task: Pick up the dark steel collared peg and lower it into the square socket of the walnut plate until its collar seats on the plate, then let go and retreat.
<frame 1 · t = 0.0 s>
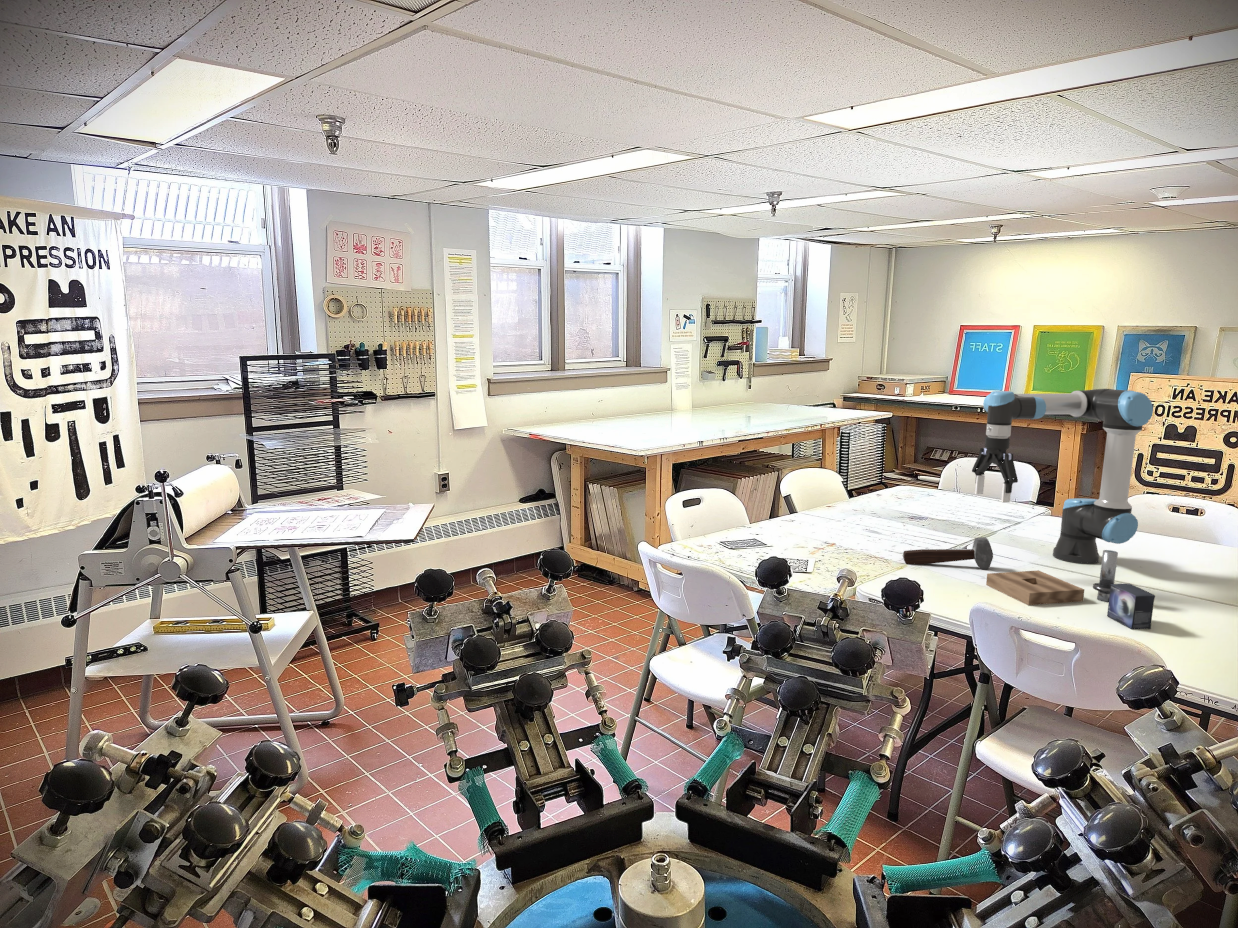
hand: (991, 497, 266), 28 cm above the table, fingers open, 13 cm apart
small box: (1127, 623, 228), on the table
socket plate: (1033, 592, 254), on the table
steel peg: (1104, 599, 248), on the table
hammer: (946, 566, 282), on the table
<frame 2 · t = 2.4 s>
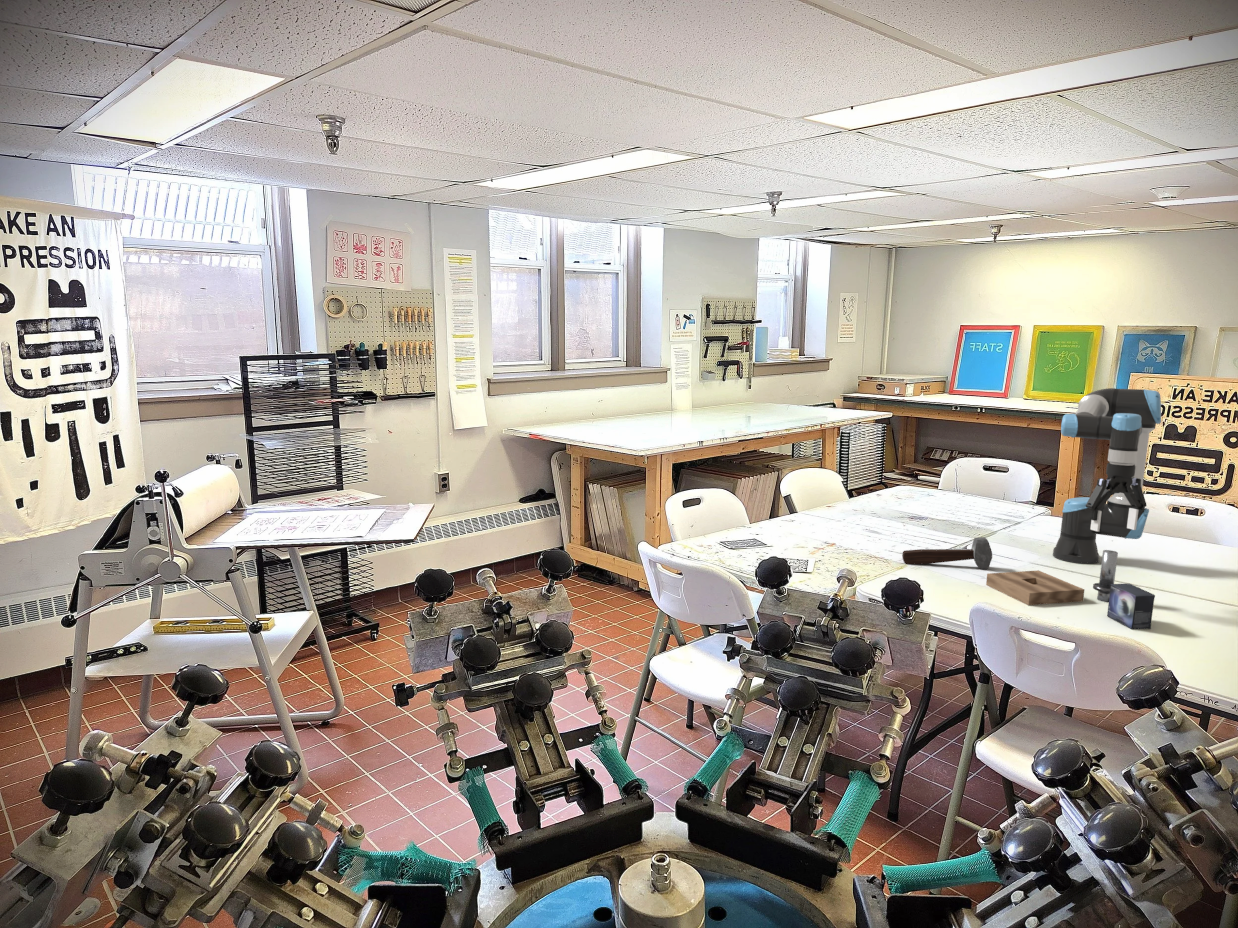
hand: (1113, 529, 243), 23 cm above the table, fingers open, 13 cm apart
nothing on the table moved.
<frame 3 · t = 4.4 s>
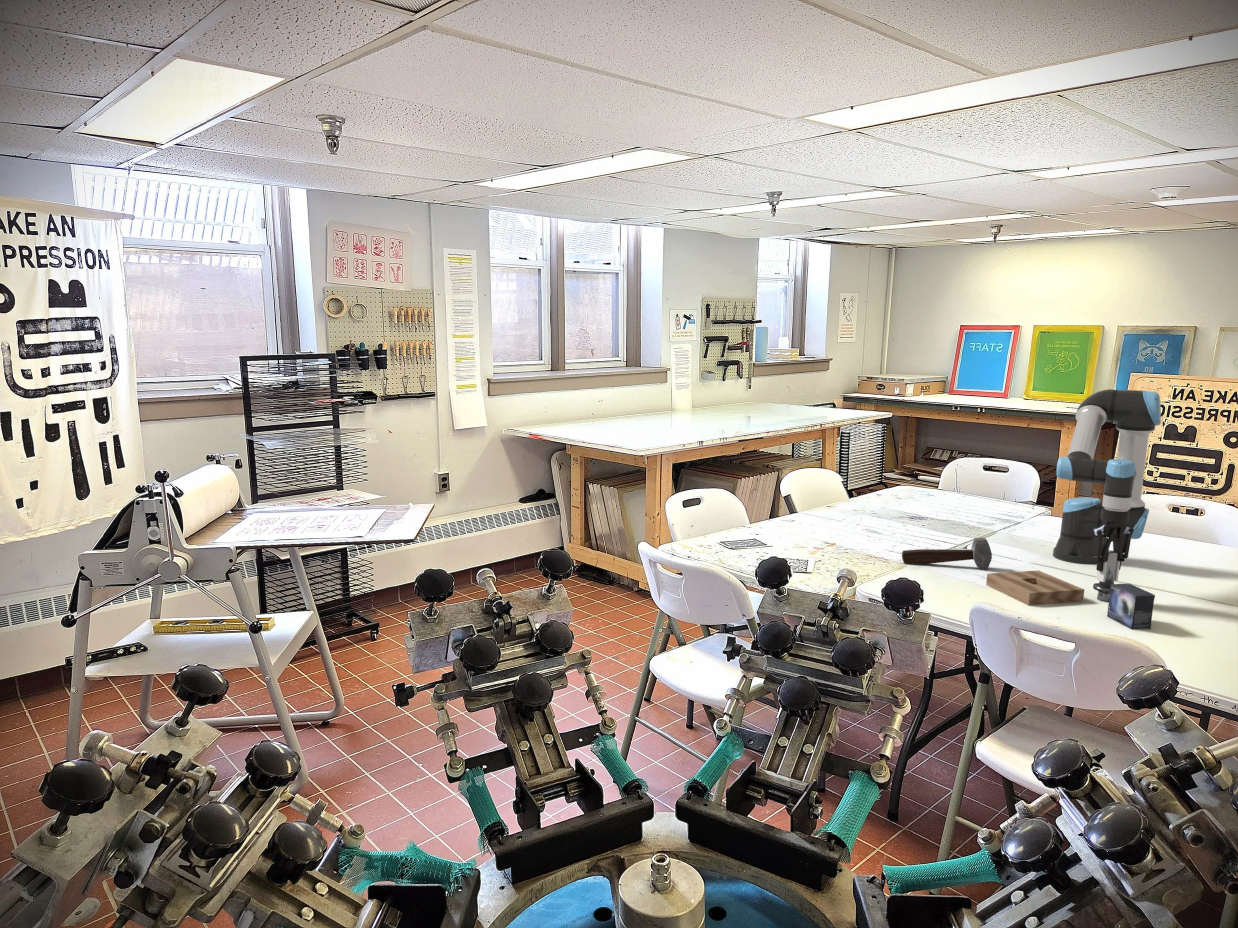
hand: (1106, 580, 246), 7 cm above the table, fingers closed on steel peg, 4 cm apart
steel peg: (1104, 599, 248), on the table, touching gripper
everything else where it was.
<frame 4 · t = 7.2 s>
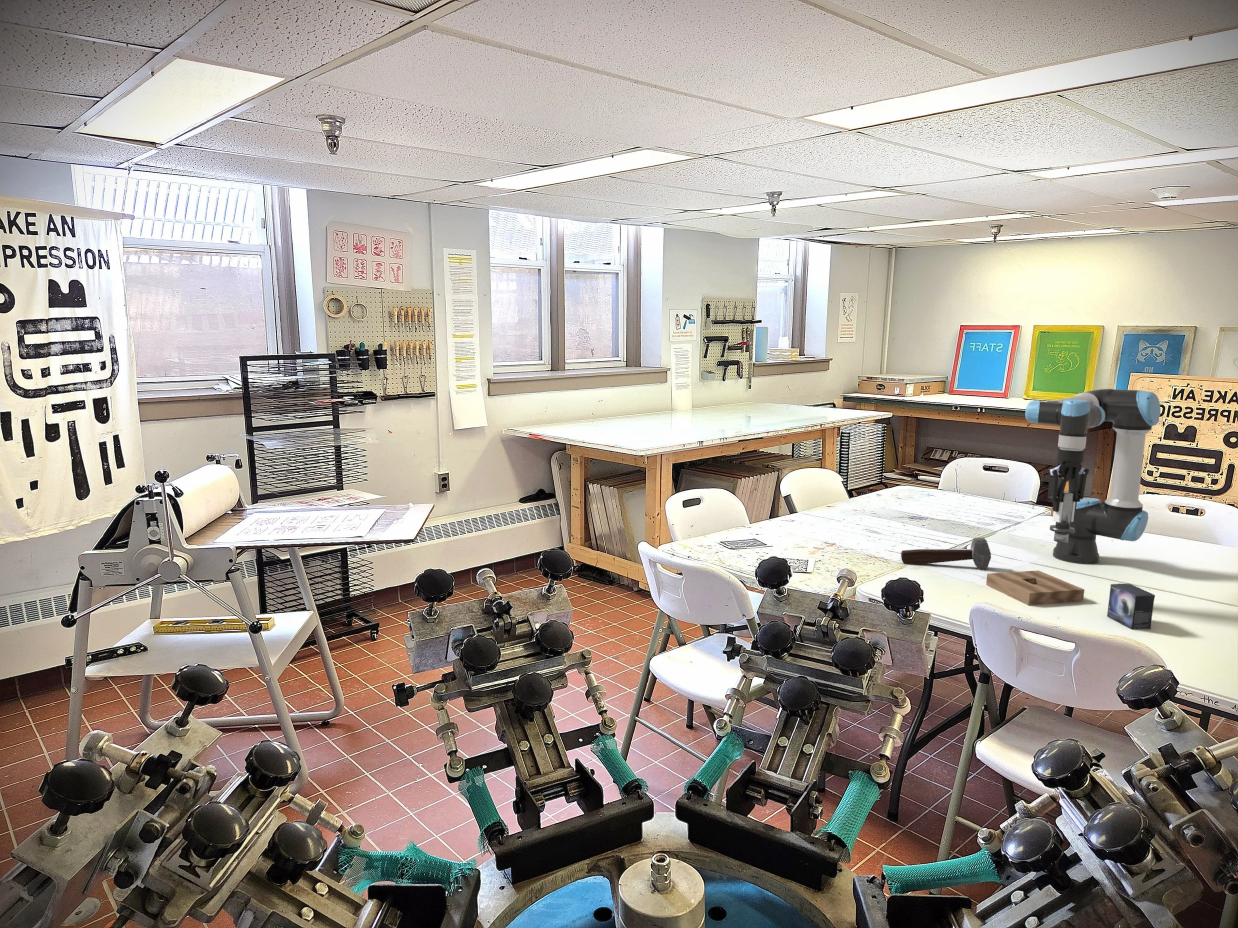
hand: (1062, 520, 247), 25 cm above the table, fingers closed on steel peg, 4 cm apart
steel peg: (1060, 541, 248), point 18 cm above the table, touching gripper
everything else where it was.
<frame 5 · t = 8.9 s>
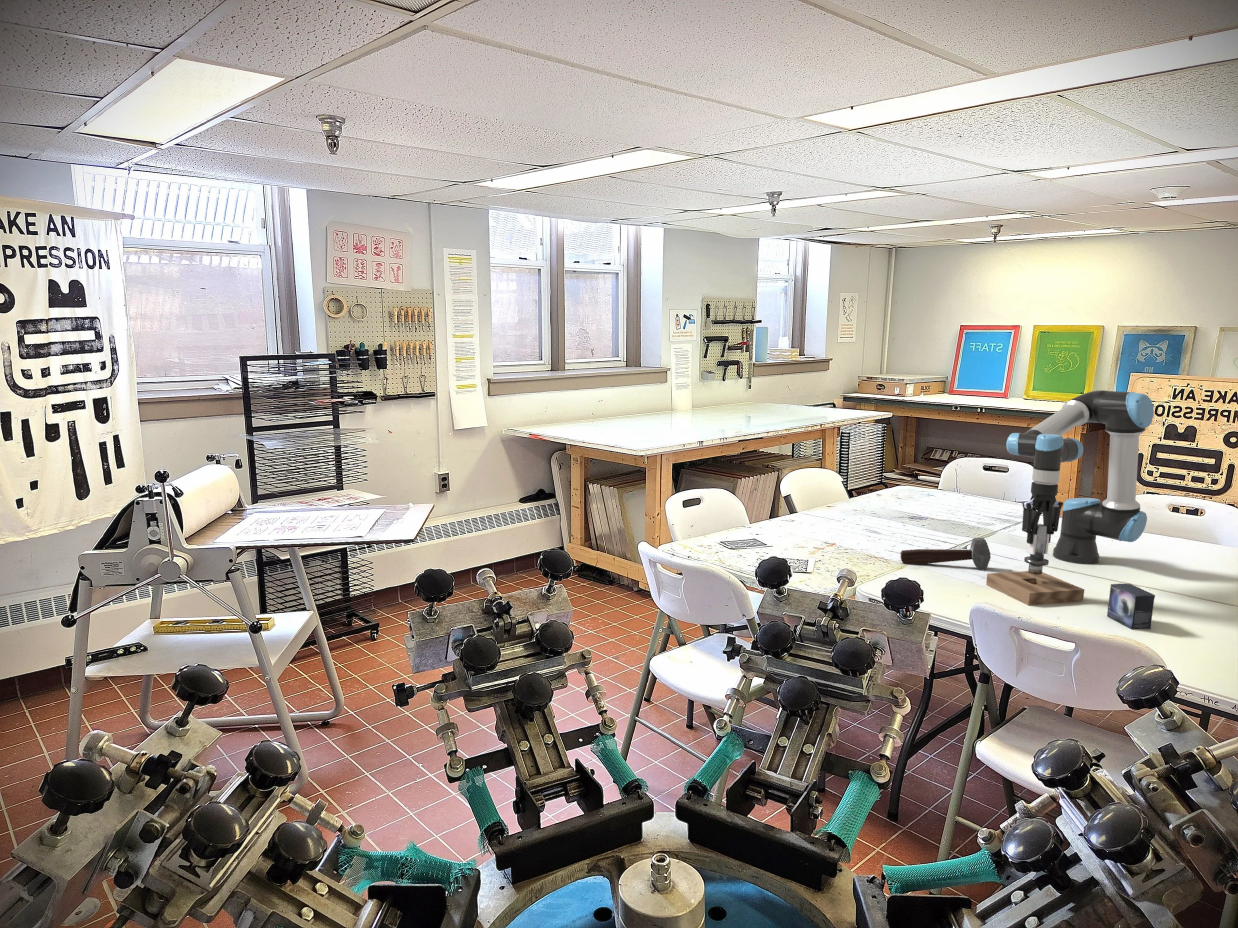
hand: (1037, 552, 251), 14 cm above the table, fingers closed on steel peg, 4 cm apart
steel peg: (1035, 572, 252), point 7 cm above the table, touching gripper
when the fingers open (9 cm above the table, at t = 10.1 s): steel peg drops 2 cm, resting on socket plate.
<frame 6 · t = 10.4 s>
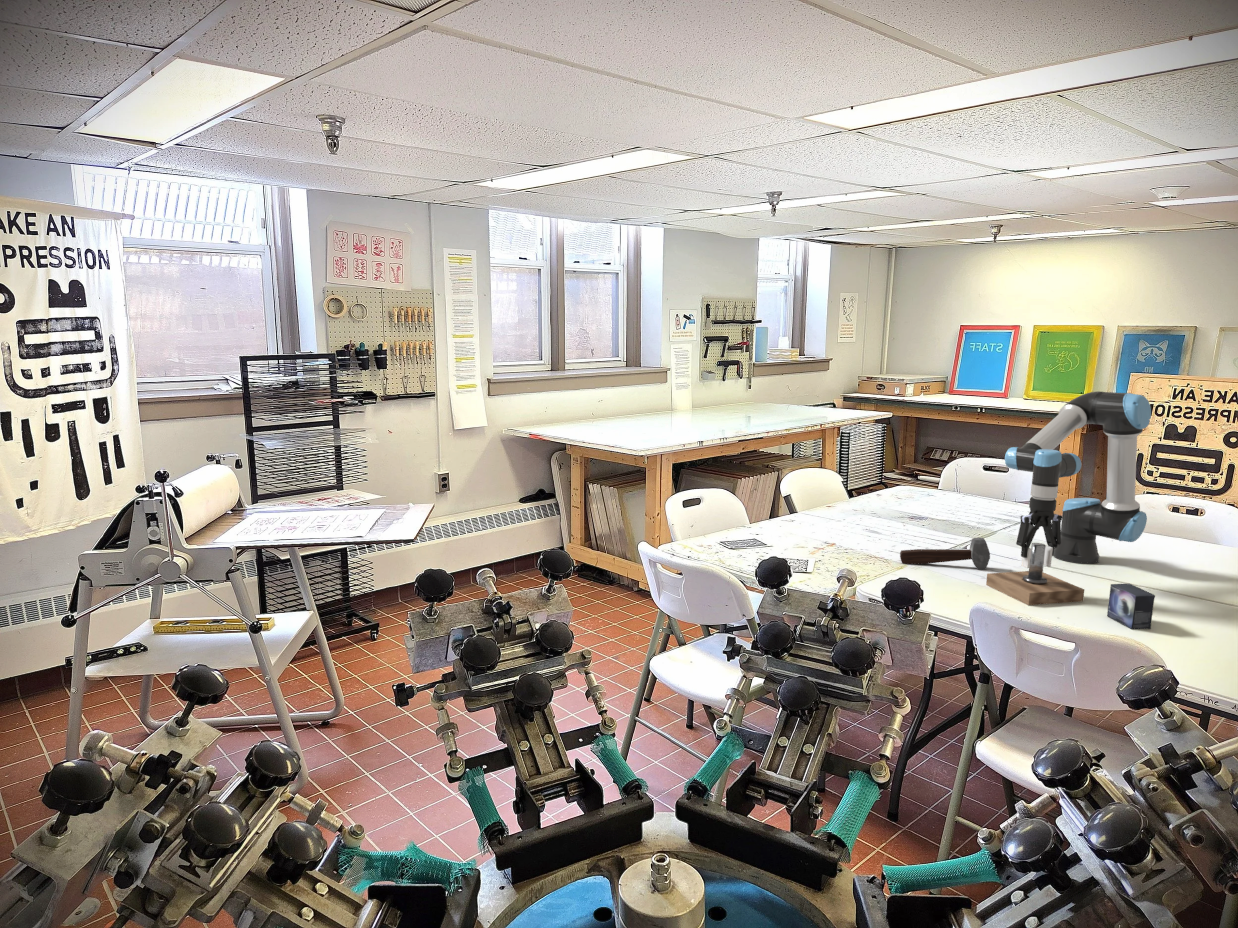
hand: (1036, 566, 252), 9 cm above the table, fingers open, 7 cm apart
steel peg: (1033, 591, 253), resting on socket plate
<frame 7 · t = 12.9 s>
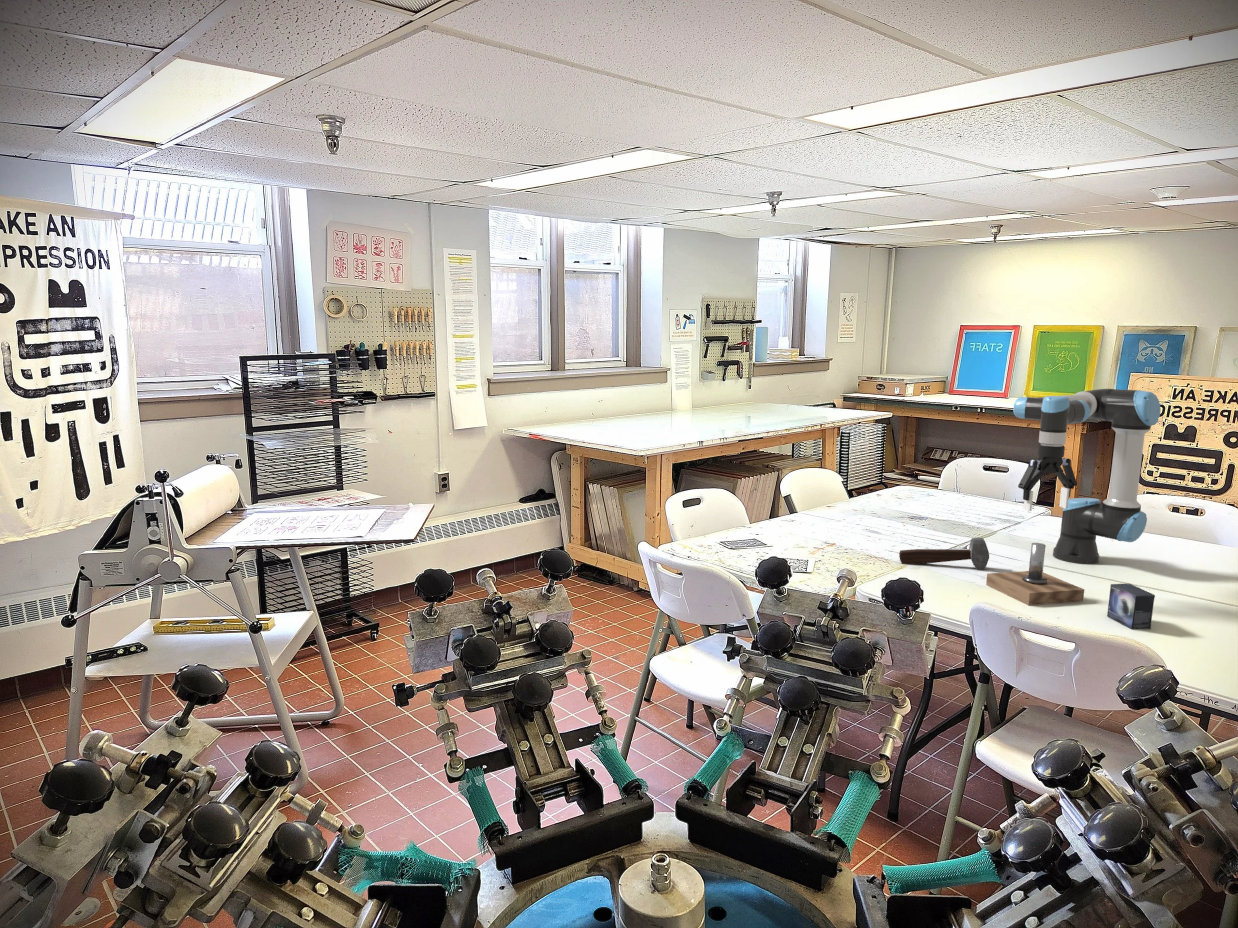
hand: (1045, 508, 252), 28 cm above the table, fingers open, 13 cm apart
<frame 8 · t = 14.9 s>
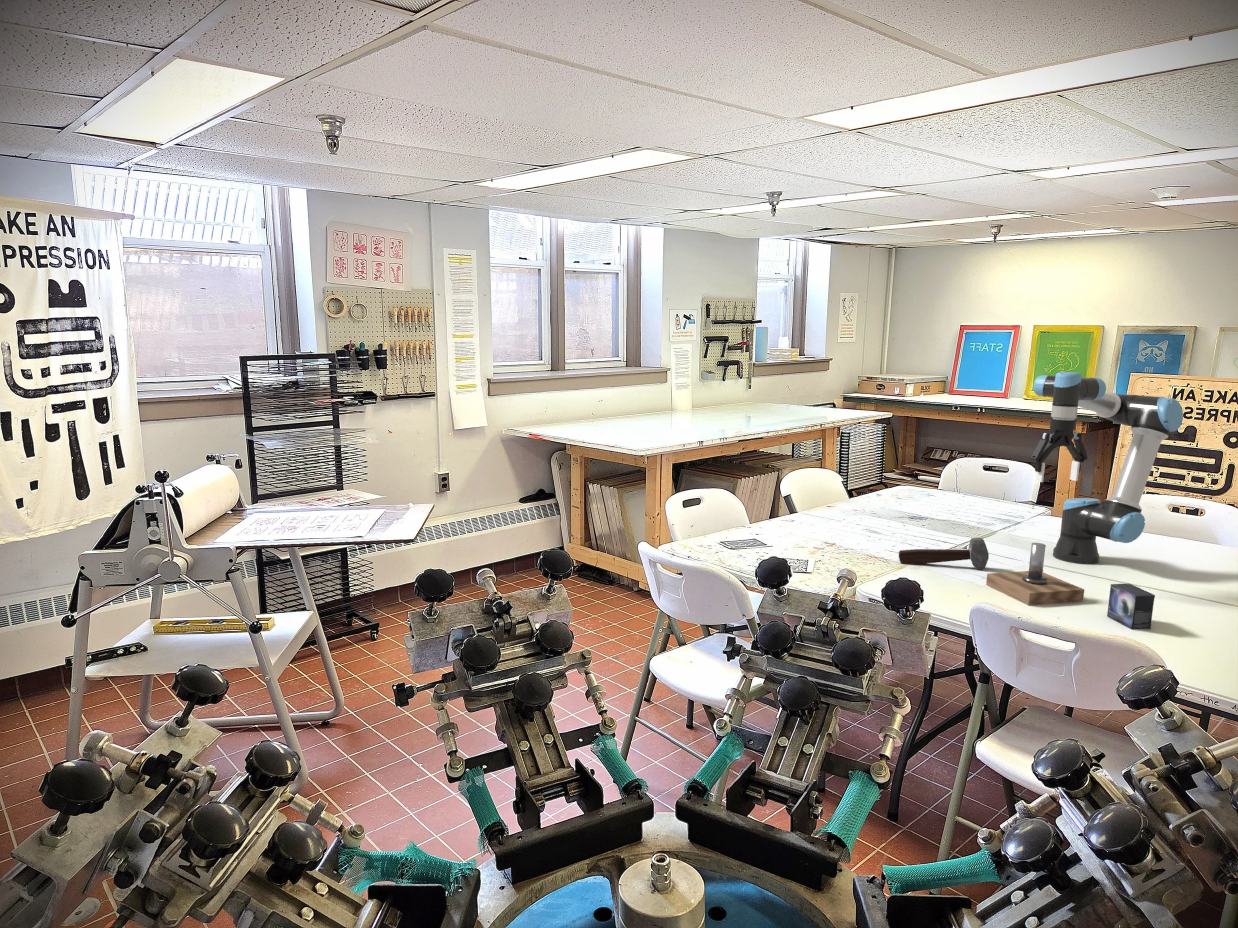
hand: (1056, 480, 262), 35 cm above the table, fingers open, 13 cm apart
at the end: steel peg 0.1 cm off-centre on the socket plate, point 0.5 cm above the socket plate's base; steel peg tilted 0°; the gripper is holding nothing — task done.
